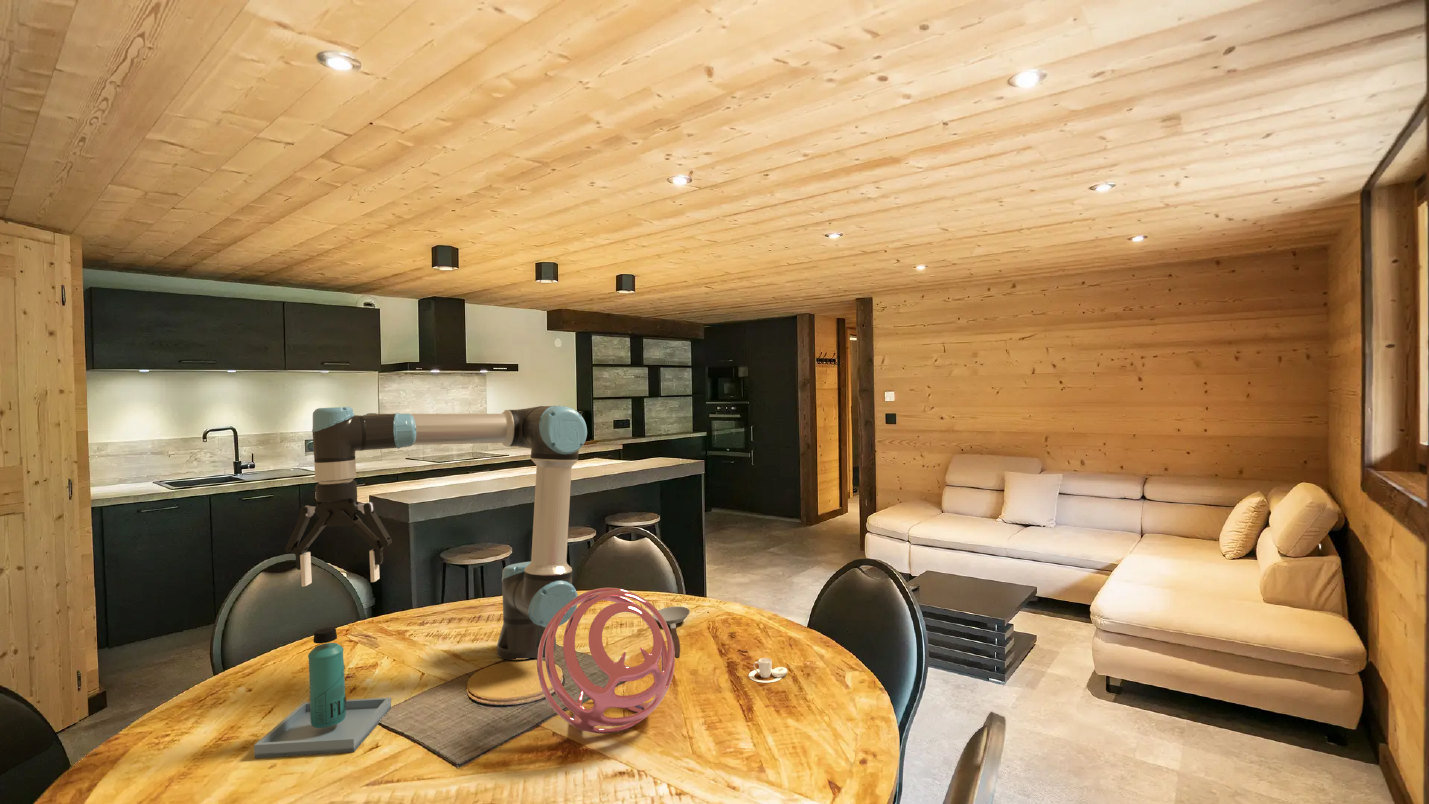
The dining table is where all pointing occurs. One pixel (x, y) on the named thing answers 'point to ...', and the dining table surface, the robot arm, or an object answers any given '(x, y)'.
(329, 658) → the beverage bottle
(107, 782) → the dining table surface
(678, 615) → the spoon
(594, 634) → the pink openwork sphere
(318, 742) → the tray
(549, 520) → the robot arm
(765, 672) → the teacup and saucer
